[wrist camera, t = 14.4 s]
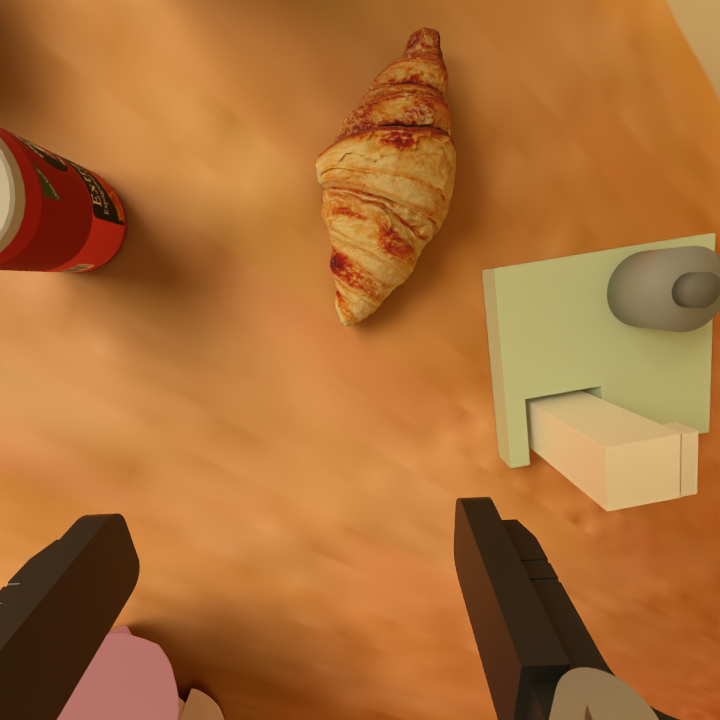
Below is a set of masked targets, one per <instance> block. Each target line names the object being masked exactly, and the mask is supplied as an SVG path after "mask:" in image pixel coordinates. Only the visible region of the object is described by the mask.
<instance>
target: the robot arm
mask: <svg viewBox="0 0 720 720" xmlns="http://www.w3.org/2000/svg"><path fill="white" fill-rule="evenodd" d="M454 559H455V566H456V571H457V575H458V579H459V583H460V586H461V590H462V593H463V597H464V601H465V604H466V608H467V611H468V615H469V618H470V622H471V625H472V629H473V633H474V636H475V640H476V643H477V647H478V650H479V654H480V657H481V661H482V665H483V668H484V672H485V675H486V679H487V682H488V686H489V690H490V693H491V697H492V700H493V704H494V707H495V711H496V714H497V718H498V720H679V719H676V718H673V717H671V716H668V715H666V714H664V713H662V712H660V711H658V710H656V709H654V708H652V707H651V706H649V705H648V704H647V703H646V701H645V700H644V699H643V698H642V697H641V696H640V695H639V694H638V693H637V692H636V691H635V690H634V689H632V688H631V687H630V686H629V685H627V684H626V683H625V682H623V681H622V680H620V679H618V678H617V677H616V676H615V675H614V674H613V673H612V671H611V670H610V669H609V667H608V666H607V664H606V663H605V661H604V659H603V658H602V656H601V654H600V652H599V650H598V649H597V647H596V645H595V643H594V641H593V640H592V638H591V636H590V634H589V632H588V631H587V629H586V627H585V625H584V623H583V622H582V620H581V618H580V616H579V614H578V613H577V611H576V609H575V607H574V605H573V604H572V602H571V600H570V598H569V596H568V595H567V593H566V591H565V589H564V587H563V586H562V584H561V582H559V581H558V577H557V575H556V573H555V571H554V569H553V568H552V566H551V564H550V563H548V559H547V557H546V555H545V553H544V551H543V550H542V548H541V546H540V544H539V542H538V541H537V539H536V537H535V536H534V535H533V534H532V533H531V532H529V531H528V530H527V529H526V528H525V527H524V526H523V525H522V524H521V523H520V522H519V521H517V520H501V518H500V516H499V514H498V511H497V509H496V507H495V505H494V503H493V501H492V500H491V498H490V497H476V498H458V499H457V501H456V511H455V531H454ZM138 576H139V559H138V556H137V553H136V550H135V547H134V544H133V542H132V539H131V536H130V533H129V530H128V527H127V524H126V521H125V519H124V517H123V516H122V515H121V514H98V515H85V516H82V517H81V518H79V519H78V520H77V521H76V522H75V523H74V524H73V525H72V526H71V528H70V529H69V530H68V531H67V532H66V533H65V534H64V535H63V536H62V537H61V539H60V540H56V541H54V542H53V543H51V544H50V545H49V546H47V547H46V548H45V549H43V550H42V551H40V552H39V553H38V554H36V555H35V556H34V557H32V558H31V559H29V560H28V562H27V563H26V564H25V565H24V566H23V567H22V568H21V569H20V570H19V571H18V572H17V573H16V574H15V575H14V576H13V577H12V578H11V580H10V581H9V582H8V585H7V587H3V588H2V589H1V590H0V720H57V719H58V717H59V715H60V714H61V712H62V710H63V708H64V707H65V705H66V703H67V702H68V700H69V698H70V697H71V695H72V693H73V692H74V690H75V688H76V686H77V685H78V683H79V681H80V680H81V678H82V676H83V675H84V673H85V671H86V670H87V668H88V666H89V664H90V663H91V661H92V659H93V658H94V656H95V654H96V653H97V651H98V649H99V648H100V646H101V644H102V642H103V641H104V639H105V637H106V636H107V634H108V632H109V631H110V629H111V627H112V626H113V624H114V622H115V620H116V619H117V617H118V615H119V614H120V612H121V610H122V609H123V607H124V605H125V603H126V602H127V600H128V598H129V597H130V595H131V593H132V592H133V590H134V588H135V586H136V583H137V580H138Z"/></svg>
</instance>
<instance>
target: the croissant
mask: <svg viewBox="0 0 720 720" xmlns="http://www.w3.org/2000/svg"><path fill="white" fill-rule="evenodd" d="M447 86H448V74H447V71H446V67H445V64H444V61H443V55H442V51H441V49H440V35H439V32H438V31H437V30H434V29H429V28H424V27H423V28H421V29H420V30H418V31H416V32H414V33H413V34H412V35H411V36H410V39H409V41H408V43H407V45H406V47H405V49H404V53H403V56H402V58H399V59H398V60H396V61H394V62H392V63H391V64H390V65H389V66H388V67H387V68H386V69H385V70H383V71H382V72H381V73H380V74H379V75H378V76H377V77H376V78H375V80H374V81H373V83H372V84H371V85H370V86H369V92H368V93H367V94H366V95H365V96H364V97H363V98H362V100H361V102H360V104H359V108H358V109H356V110H355V111H352V112H349V113H348V115H347V117H346V118H345V120H344V122H343V124H342V125H341V127H340V129H339V132H338V134H337V137H336V139H335V142H334V144H333V145H331V146H330V147H328V148H327V149H326V150H325V151H324V152H322V153H321V154H320V155H319V156H318V158H317V161H316V164H315V166H316V169H317V176H316V177H317V179H318V181H319V184H320V186H321V188H322V189H323V191H324V193H323V197H322V210H321V217H322V218H323V219H324V221H325V223H326V224H327V227H328V232H329V235H330V241H331V259H330V267H331V271H332V275H333V277H334V282H335V287H336V289H337V292H336V300H335V303H336V310H337V311H338V315H339V318H340V321H341V322H342V324H343V325H344V326H353V325H356V324H358V323H359V322H360V321H361V320H362V319H365V318H367V317H368V316H369V314H374V312H375V311H376V309H377V308H378V307H379V306H380V305H381V304H382V302H383V300H384V299H385V298H386V297H388V296H389V295H390V294H391V292H392V291H393V290H394V289H395V288H396V287H397V286H398V285H401V284H403V283H404V282H405V281H406V280H407V279H408V277H409V276H410V274H411V273H412V271H413V270H414V268H415V265H416V261H417V258H418V257H419V255H421V252H422V249H423V248H424V247H425V245H426V244H427V242H429V241H430V240H432V237H433V236H434V235H435V234H436V233H438V231H439V230H440V228H441V226H442V223H443V221H444V219H445V218H446V216H447V213H448V210H449V206H450V203H451V200H452V194H453V188H454V183H455V177H456V149H455V147H454V143H453V141H452V139H451V121H450V119H451V111H450V109H449V108H448V106H447V104H446V103H445V102H444V100H443V99H444V96H445V93H446V88H447Z"/></svg>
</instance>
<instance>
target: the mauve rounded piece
mask: <svg viewBox="0 0 720 720" xmlns="http://www.w3.org/2000/svg"><path fill="white" fill-rule="evenodd" d="M57 720H224V717H223V714H222V711H221V710H220V708H219V706H218V705H217V704H216V702H215V701H214V700H213V699H211V698H210V697H209V696H208V695H206V694H205V693H203V692H201V691H199V690H197V689H191V691H190V694H189V696H188V699H187V701H186V704H185V702H184V701H183V700H182V699H181V698H179V697H178V691H177V686H176V682H175V678H174V674H173V670H172V666H171V664H170V662H169V659H168V657H167V656H166V654H165V653H164V651H163V650H162V649H161V647H160V646H159V645H158V644H156V643H153V642H151V641H148V640H146V639H143V638H140V637H136V636H133V635H132V634H131V632H130V630H129V628H128V627H127V626H119V627H117V628H115V629H114V630H112V631H111V632H109V633H108V634H107V636H106V637H105V639H104V641H103V642H102V644H101V646H100V648H99V649H98V651H97V653H96V654H95V656H94V658H93V659H92V661H91V663H90V664H89V666H88V668H87V670H86V671H85V673H84V675H83V676H82V678H81V680H80V681H79V683H78V685H77V686H76V688H75V690H74V692H73V693H72V695H71V697H70V698H69V700H68V702H67V703H66V705H65V707H64V708H63V710H62V712H61V714H60V715H59V717H58V719H57Z"/></svg>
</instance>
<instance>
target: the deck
mask: <svg viewBox="0 0 720 720" xmlns="http://www.w3.org/2000/svg"><path fill="white" fill-rule="evenodd" d="M482 278H483V289H484V300H485V311H486V322H487V333H488V344H489V355H490V366H491V377H492V388H493V399H494V410H495V421H496V432H497V443H498V454H499V456H500V457H501V459H502V460H503V461H504V462H505V463H506V464H507V465H508V466H509V467H510V468H515V467H520V466H526V465H530V459H529V446H528V432H527V418H526V405H525V399H529V398H535V397H541V396H546V395H552V394H558V393H564V392H569V391H575V390H581V389H583V391H584V392H586V393H588V394H591V395H593V396H595V397H598V398H600V399H602V400H605V401H607V402H610V403H612V404H614V405H617V406H619V407H621V408H624V409H626V410H628V411H631V412H633V413H635V414H638V415H640V416H642V417H645V418H647V419H649V420H652V421H654V422H656V423H659V424H661V425H663V424H668V423H674V422H677V423H680V424H682V425H685V426H687V427H690V428H692V429H695V430H697V431H698V434H701V433H707V432H709V422H710V389H711V356H712V323H713V317H714V316H715V315H716V314H717V313H718V311H719V310H720V256H719V255H718V254H717V253H715V233H709V234H702V235H695V236H687V237H681V238H675V239H669V240H663V241H656V242H650V243H644V244H638V245H632V246H626V247H620V248H613V249H607V250H601V251H595V252H589V253H583V254H577V255H571V256H564V257H558V258H552V259H546V260H540V261H534V262H528V263H521V264H515V265H509V266H503V267H497V268H491V269H485V270H482Z"/></svg>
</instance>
